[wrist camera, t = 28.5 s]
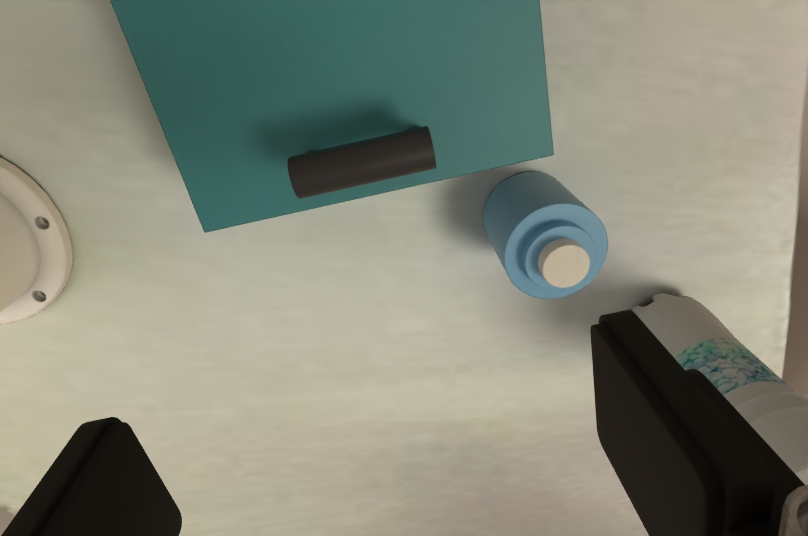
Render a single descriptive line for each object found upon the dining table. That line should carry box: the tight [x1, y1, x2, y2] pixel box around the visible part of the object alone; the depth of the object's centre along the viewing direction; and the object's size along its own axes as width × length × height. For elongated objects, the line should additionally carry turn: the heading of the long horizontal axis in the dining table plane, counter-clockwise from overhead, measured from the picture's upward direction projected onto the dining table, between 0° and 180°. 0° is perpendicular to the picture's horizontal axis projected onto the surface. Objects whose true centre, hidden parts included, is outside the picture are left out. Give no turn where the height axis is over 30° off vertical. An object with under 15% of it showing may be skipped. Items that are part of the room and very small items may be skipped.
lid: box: [110, 0, 554, 232], centre depth 21 cm, size 17×18×5 cm
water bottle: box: [483, 172, 608, 299], centre depth 32 cm, size 6×6×8 cm
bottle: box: [632, 293, 808, 485], centre depth 31 cm, size 7×7×20 cm
